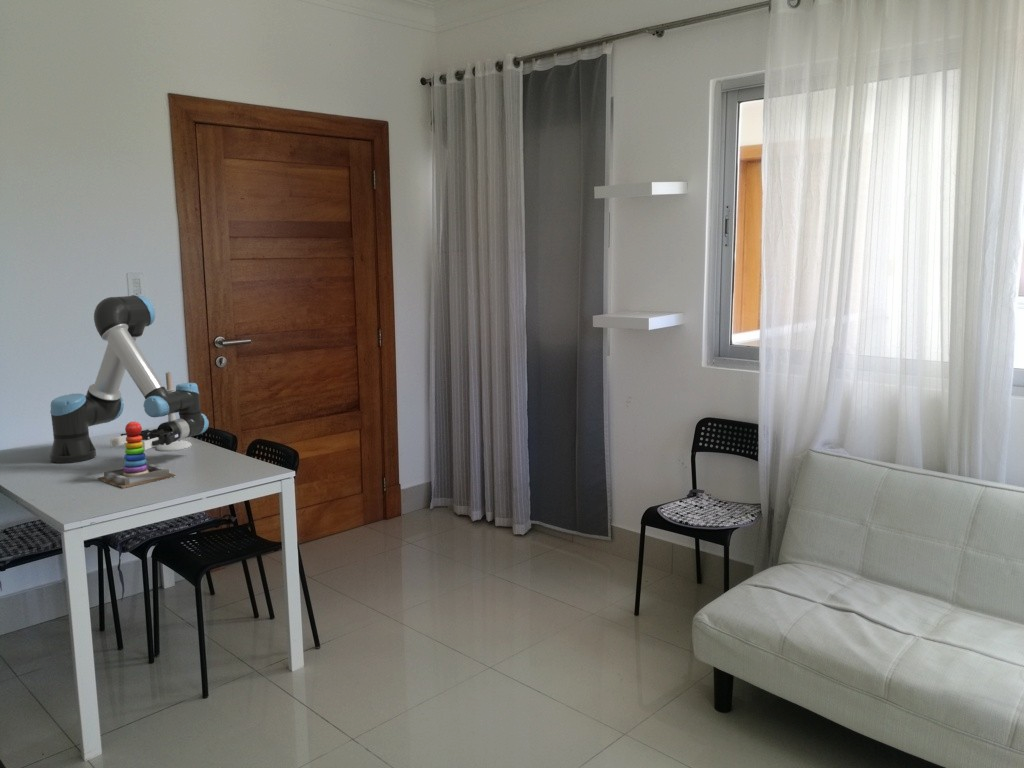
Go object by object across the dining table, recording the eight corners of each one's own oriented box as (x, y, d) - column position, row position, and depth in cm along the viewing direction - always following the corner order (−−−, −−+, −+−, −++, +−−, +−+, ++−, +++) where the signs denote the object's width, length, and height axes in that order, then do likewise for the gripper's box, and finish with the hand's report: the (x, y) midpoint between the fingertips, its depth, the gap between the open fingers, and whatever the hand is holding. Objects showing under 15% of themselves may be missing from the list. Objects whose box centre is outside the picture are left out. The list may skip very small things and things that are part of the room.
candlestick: (149, 450, 321) (142, 373, 316) (169, 443, 333) (163, 368, 329) (179, 451, 318) (172, 374, 314) (198, 444, 331) (192, 369, 326)
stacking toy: (139, 480, 277) (134, 424, 274) (118, 479, 278) (113, 424, 275) (154, 473, 284) (149, 419, 281) (133, 472, 286) (128, 419, 283)
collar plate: (97, 479, 280) (97, 472, 280) (149, 468, 294) (149, 461, 294) (122, 488, 269) (122, 480, 268) (175, 476, 282) (175, 469, 282)
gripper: (202, 443, 293) (158, 457, 273) (145, 439, 301) (99, 452, 282) (200, 422, 292) (156, 435, 272) (143, 419, 300) (97, 431, 280)
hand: (127, 444), depth 277 cm, fingers open, 13 cm apart
